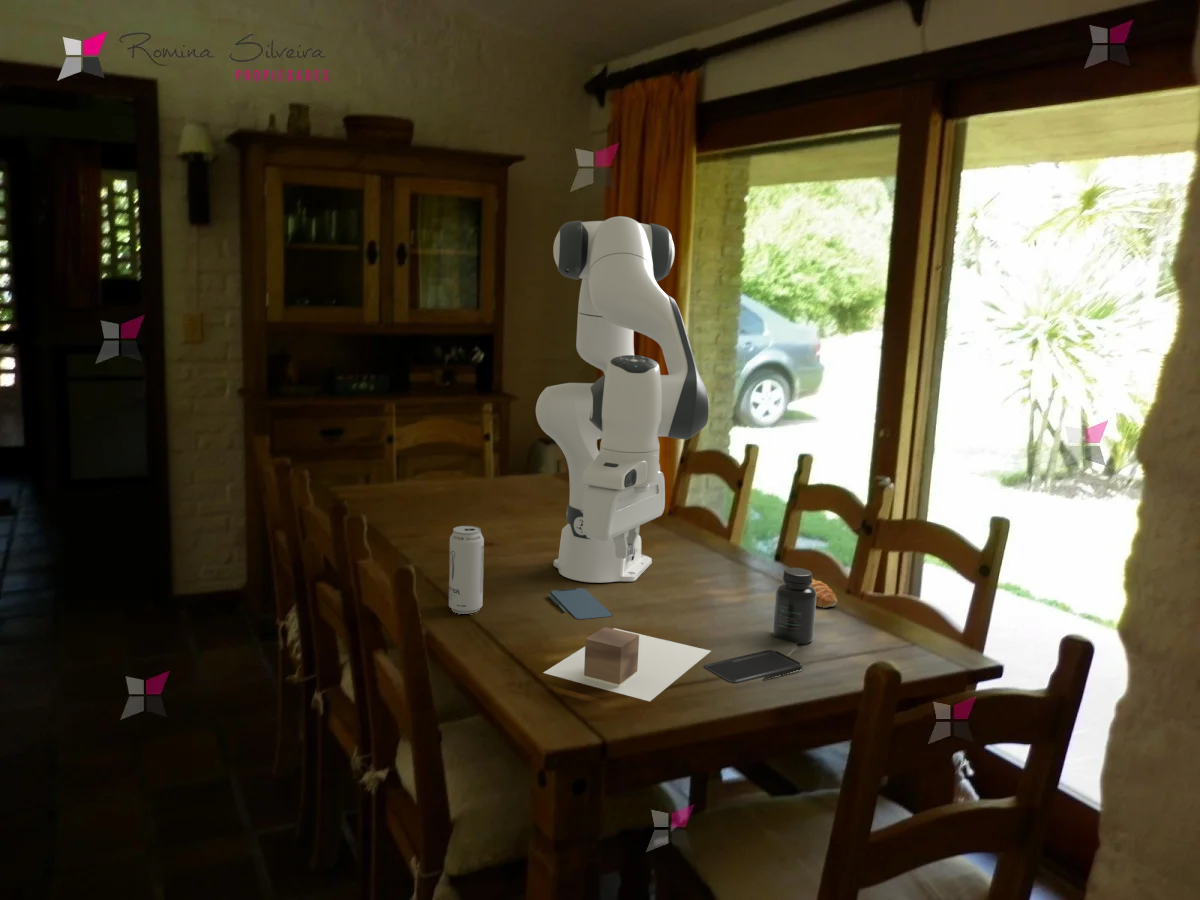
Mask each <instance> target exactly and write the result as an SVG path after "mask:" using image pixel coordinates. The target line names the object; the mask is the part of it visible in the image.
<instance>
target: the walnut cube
mask: <svg viewBox="0 0 1200 900" xmlns="http://www.w3.org/2000/svg"><path fill="white" fill-rule="evenodd" d="M624 631H625V630H624ZM624 631H619V630H615V629H613V628H610V627H605V626H604V627H602V628H601V629H599V630H597V631H595V632H594V633H593V634H591V635H590V636H588V637H586V638H585V640H584V641H585V642H584V645H585V646H584V647H585V664H584V678H587V679H590V680H594V681H598V682H602V683H606V684H610V685H614V686H617V687H620V686H621V685H623V684H624V683H625V682H626V681H628V680H629V679H630V678H632V677H633V676H634V675H636V674H637V668H638V649H639V635H637V634H638V633H637V634H632V633H628V632H629V631H628V632H624Z"/></svg>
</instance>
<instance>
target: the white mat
mask: <svg viewBox="0 0 1200 900" xmlns="http://www.w3.org/2000/svg"><path fill="white" fill-rule="evenodd" d="M612 629H615V630H619V631H624V632H628V633H632V634H637V635H639V649H638V668H637V674H636V675H634V676H633V677H632V678H630V679H629V680H628V681H626V682H625V683H624V684H623V685H621V686H620V687H617V686H614V685H610V684H606V683H602V682H598V681H594V680H590V679H587V678H584V664H585V646H583V647H582V648H579V649H578V650H577V651H575V652H574V653H572V654H570V655H569V656H568V657H565V658H564V659H563V660H561V661H560V662H557V663H556V664H555V665H553V666H552V667H550V668H549V669H547V670H545V671H544V672H542V673H543V674H546V675H549V676H553V677H555V678H560V679H563V680H568V681H570V682H571V681H572V682H575V683H580V684H582V685H586V686H591V687H593V688H597V689H602V690H605V691H609V692H612V693H616V694H619V695H623V696H627V697H630V698H631V697H632V698H634V699H639V700H642V701H646V702H651V701H653V700H654V699H655V698H657V696H659V695H660V694H661V693H662V692H664V691H665V689H667V688H669V687H670V686H671V685H672V684H673V683H674V682H676V681H677V680H678V679H679V678H680V677H682V676H683V675H684V674H685V673H687V671H689V670H690V669H691V668H693V667H694V666H695V665H696V664H698V662H700V661H701V660H703V658H705V657H706V656H707V655H708V654H710V653H711V652H712V650H710V649H705V648H701V647H700V648H699V647H696V646H691V645H689V644H684V643H680V642H674V641H671V640H667V639H662V638H657V637H653V636H649V635H645V634H641V633H636V632H633V631H627V630H623V629H619V628H615V627H614V628H612Z"/></svg>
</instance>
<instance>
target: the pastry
mask: <svg viewBox="0 0 1200 900" xmlns="http://www.w3.org/2000/svg"><path fill="white" fill-rule="evenodd" d="M810 586H811V587H813V588H814V589H815V591H816V594H817V596H816V606H818V607H819V608H822V607H823V608H822V609H825V608H829V607H835V606H836V604H837V603H838V598H837V596H836V593H835V592H834V591H833V589H832V588H830V587H829V586H828V584H826V583H824V582H823V581H821V580H815V578H812V584H811V585H810ZM818 607H817V608H818Z"/></svg>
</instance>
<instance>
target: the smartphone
mask: <svg viewBox="0 0 1200 900" xmlns="http://www.w3.org/2000/svg"><path fill="white" fill-rule="evenodd" d="M549 598H550V599H551V600H552V601H553V602H554V604H555V605H558V606H559V607H560V608H561V609H562V610H563V611H564V613H568V614H569V615H570V616H571V617H572V618H573V619H574V620H577V621H579V620H580V621H582V620H583V621H584V620H595V619H604V618H611V617H613V616H614V615H613V613H611V612H610V611H609V610H608V609H607V608H606V607H605V606H604V605H603V604H602V603H601V602H600V601H599V600H598V599H597V598H595V597H594V596H593V594H591V593H590V592H589V591H588V590H587V589H586V588H584V587H583V588H581V587H580V588H575V587H574V588H566V589H557V590H556V589H555V590H551V591H549ZM558 606H557V607H558ZM559 607H558V608H559ZM560 608H559V609H560ZM561 609H560V610H561ZM562 610H561V611H562ZM563 611H562V612H563Z"/></svg>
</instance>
